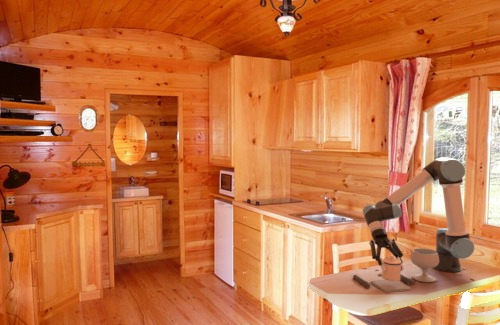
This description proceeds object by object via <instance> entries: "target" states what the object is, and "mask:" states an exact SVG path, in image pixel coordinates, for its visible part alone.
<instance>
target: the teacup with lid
mask: <svg viewBox="0 0 500 325" xmlns="http://www.w3.org/2000/svg"><path fill="white" fill-rule="evenodd" d="M382 259H383V262H384V264H385V267H386V269H387V270H386V271H385V272H383V271H382V270H381V271H382V272H381V274H382V276H381V278H382V280H388V281H399V282H400V281H401V279H400V276H401V275H402V274H401V273H402V271H401V261H400V260H398V259H396V257H395V256H394V255H393V254H391V255H389V257H386V258H382Z"/></svg>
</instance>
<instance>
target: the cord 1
mask: <svg viewBox="0 0 500 325" xmlns="http://www.w3.org/2000/svg"><path fill="white" fill-rule="evenodd" d="M352 279H353V280H355V281H356V282H357V283H359V284H361V285H362V286H363V287H365V288H366V289H370V288H371V283H369V282H368V281H366V280H364V279H363V278H361V277H360V276H359V275H357V274H353V276H352Z"/></svg>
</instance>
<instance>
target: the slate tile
mask: <svg viewBox="0 0 500 325" xmlns="http://www.w3.org/2000/svg"><path fill="white" fill-rule="evenodd" d="M370 284H372V285H373V286H375V287H376V288H378V289H379V290H381V291H383V292H384V293H395V292H406V291H408V292H409V291H411V290H412V288H411V287H410V286H408V285H406V284H404V283H403V282H401V281H400V280H399V281H388V280H385V279H380V280H379V279H378V280H377V279H375V280H370Z"/></svg>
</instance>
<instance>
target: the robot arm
mask: <svg viewBox="0 0 500 325" xmlns="http://www.w3.org/2000/svg"><path fill="white" fill-rule="evenodd" d="M465 174H466V168H465V165H464V164H463V162H462V161H460V160H458V159H456V158H453V157H452V158H451V157H439V158H436V159H434V160H432V161H430V163H428V164H427V165H426V166H424V167H423V168H421V171H420V172H419V173H418V174H417V175H415V176H414V177H413V178H411V179H410V180H408V181H406V183H404V184H403V185H401V186H400V187H399V188H398V189H396V190H395V191H394V192H392V193H391V194H390V195H389V196H387V197H385V198H384V199H383V200H379V201H377V202H375V205H374V204H368V205H365V206H364V207H363V208H362V214H363V217H364V220H365V222H366V225H367V227H368V229H369V233H370V234H371V237H372V239H370V241H369V243H368V244H369V246H370V251H371V258H372V260H375V261H376V262H377V264H378V266H379V267H380V268H381V271H383V272H385V271H386V270H387V269H386V267H385V264H384V262H383V259H384V258H382V257H381V254H382V249H386V250H388V251H389V252H390V253H391V255H393V256H394V258H396V259H398V260H400V261H401V272H402V271H403V270H404V269H405V267H404V265H403V260H402V257H403V256H404V253H403V252H402V250H401V249H400V247H399V246H398V244H397V243H396V240H395V239H394V238H392V239H389V237H388V234H387V233H388V232H386V229H385V226H384V224H383V222H384V221H389V220H394V219H399V218H401V217H402V215H403V213H402V208H401V206H400V205H402V203H404V202H406V201H407V200H408V199H410V198H411V197H413V196H414V195H415V194H417V193H418V192H419V191H421V190H422V189H423V188H425V187H426V186H427V185H429V184H430V183H434V182H436V181H437V180H438V184H439V185H440V186H441V187H442V193H443V194H442V195H443V201H444V202H443V203H444V208H445V217H446V225H447V227H446V228H445V227H444V228H443V227H442V228H437V229H436V236H435V238H436V239H435V251H436V252H437V254H438V256H439V264H438V265H437V266H436V267H433V268H432V269H434V270H439V271H442V272H449V273H453V272H454V273H458V272H461V271H462V265H461V259H463V260H465V259H468V258H470V257H471V256H472V255H473V254H474V252H475V244H474V242H473V241H472V239H470V237H471V236H470V232H469V231H468V229H466V224H465V215H464V214H465V213H464V208H463V207H464V206H463V200H462V191H461V185H462V184H463V182H464V180H463V177H465Z"/></svg>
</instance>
